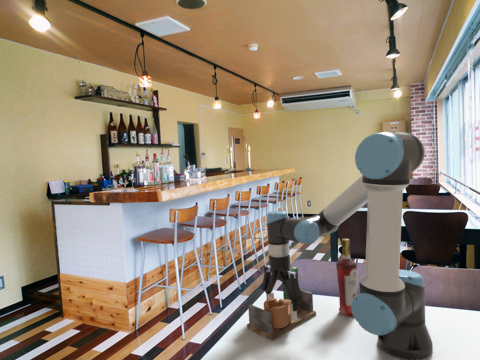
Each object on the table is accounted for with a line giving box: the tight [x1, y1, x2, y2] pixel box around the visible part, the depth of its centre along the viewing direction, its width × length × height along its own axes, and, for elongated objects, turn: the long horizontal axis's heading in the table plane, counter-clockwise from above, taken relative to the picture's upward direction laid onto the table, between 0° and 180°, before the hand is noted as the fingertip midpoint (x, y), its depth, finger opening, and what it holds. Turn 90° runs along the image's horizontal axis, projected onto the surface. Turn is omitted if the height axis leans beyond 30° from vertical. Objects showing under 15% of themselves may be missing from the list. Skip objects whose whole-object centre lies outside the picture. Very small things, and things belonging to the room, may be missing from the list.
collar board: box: [246, 288, 317, 341], centre depth 126 cm, size 12×24×8 cm, turn 132°
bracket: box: [263, 297, 298, 328], centre depth 126 cm, size 18×8×7 cm, turn 152°
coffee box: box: [282, 266, 299, 299], centre depth 145 cm, size 8×3×13 cm, turn 138°
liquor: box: [335, 238, 358, 317], centre depth 129 cm, size 7×7×28 cm
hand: (282, 314), depth 126 cm, fingers closed on bracket, 10 cm apart
